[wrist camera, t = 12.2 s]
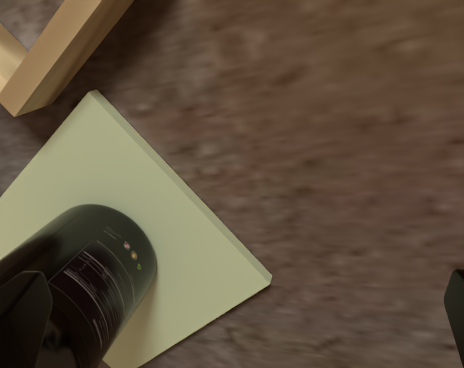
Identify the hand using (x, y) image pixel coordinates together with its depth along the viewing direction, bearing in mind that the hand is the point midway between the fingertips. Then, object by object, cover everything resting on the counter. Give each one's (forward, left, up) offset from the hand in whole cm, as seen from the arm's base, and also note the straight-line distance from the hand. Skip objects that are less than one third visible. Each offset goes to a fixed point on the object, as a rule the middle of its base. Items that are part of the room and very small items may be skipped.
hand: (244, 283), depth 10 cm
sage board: (+2, +14, -13) cm, 19 cm away
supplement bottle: (+2, +13, -12) cm, 18 cm away
